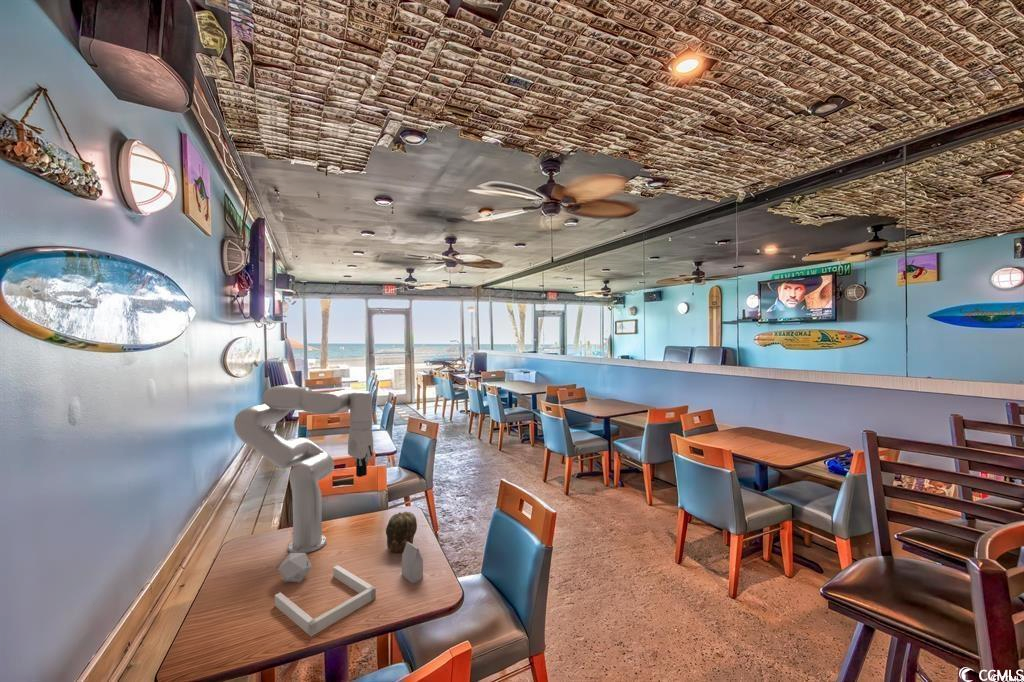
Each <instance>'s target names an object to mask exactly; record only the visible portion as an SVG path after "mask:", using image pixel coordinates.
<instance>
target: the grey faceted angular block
mask: <svg viewBox="0 0 1024 682" xmlns="http://www.w3.org/2000/svg"><path fill="white" fill-rule="evenodd" d="M401 575H402V576H403V577H404V578H405V579H406V580H407V581H409V582H410V583H412V584H414V583H417V582H418V581H421V580H423V579H424V559H423V557H422V555H421V553H420V548H418V547H416V546H415V545H414V544H411V543H409V542H408V541H407V542H406V546H405V549H404V551H403V552H402V555H401Z"/></svg>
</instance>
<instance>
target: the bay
mask: <svg viewBox="0 0 1024 682" xmlns="http://www.w3.org/2000/svg"><path fill="white" fill-rule="evenodd" d="M332 574H333V575H332V576H333V578H335V579H336V580H337V581H340V582H341V583H343V584H344V585H346V586H347V587H349V588H351V589H352V590H354V591H355V592H357V593H358V594H356V595H354V596H353V597H351V598H349V599H347V600H345V601H344V602H342V603H341V604H338V605H337V606H335V607H333V608H331V609H329V610H328V611H326V612H324V613H322V614H321V615H318V617H315V618H313V617H311V615H309V614H308V613H306V612H305V610H303V609H302V608H301V607H299V606H298V605H297V604H296V603H294V602H293V601H291V600H290V599H289V598H288V597H287V596H286V595H284V594H283V593H282V592H279V593H276V594H275V595H274V606H275V607H276V608H277V609H278V610H280V612H282V613H283V614H284V615H285V616H286V617H287V618H289V619H290V620H291V621H292V622H293V623H294V624H295V625H297V626H298V627H299V628H300V629H302V630H303V631H304V632H305V633H306V634H307V635H309V636H310V637H313V636H314V635H316V634H318V633H319V632H321V631H323V630H325V629H327V628H328V627H330V626H332V625H333V624H335V623H336V622H338V621H340V620H342V619H343V618H345V617H346V616H348V615H350V614H351V613H354V612H356V610H358V609H359V608H362V607H363V606H366V605H367V604H368V603H370V602H372V601H373V600H376V598H377V596H376V595H377V594H376V592H377V591H376V589H377V588H376V587H375V586H374V585H371V584H370V583H368V582H367V581H365V580H363V579H362V578H360V577H359V576H356V575H355V574H353V573H351V571H348V570H347V569H344V568H343V567H341V566H340V565H339V564H337V565H335V566H333V567H332Z"/></svg>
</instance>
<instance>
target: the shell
mask: <svg viewBox="0 0 1024 682" xmlns="http://www.w3.org/2000/svg"><path fill="white" fill-rule="evenodd" d="M417 529H418V522H417V518H416V516H415V514H414V513H413V512H411V511H409V512H408V511H404V512H398V513H396V514H393V515H392V516H391V517H390V519H389V520H388V524H387V525H386V528H385V535H386V545H387V549H388V551H389V552H390V553H393V554H395V553H403V551H404V549H405V546H406V542H407V541H408V542H409V543H411V544H412V545H414V544H413V543H414V537H415V535H416V532H417Z"/></svg>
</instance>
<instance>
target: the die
mask: <svg viewBox="0 0 1024 682" xmlns="http://www.w3.org/2000/svg"><path fill="white" fill-rule="evenodd" d="M312 567H313V566H312V564H311V560H310V559H309V557H308V555H307V553H291V552H290V553H289V554H288V555H287V557H286V558H285V559H284V560H283V562H282V563H281V564H280V566H278V567H277V569H278V572H279V573H280V575H281V577H282V579H283V582H284V583H302V581H303V580H304V578H305V577H306V575H307V574H308V573H309V571H310V570H311V569H312Z"/></svg>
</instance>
